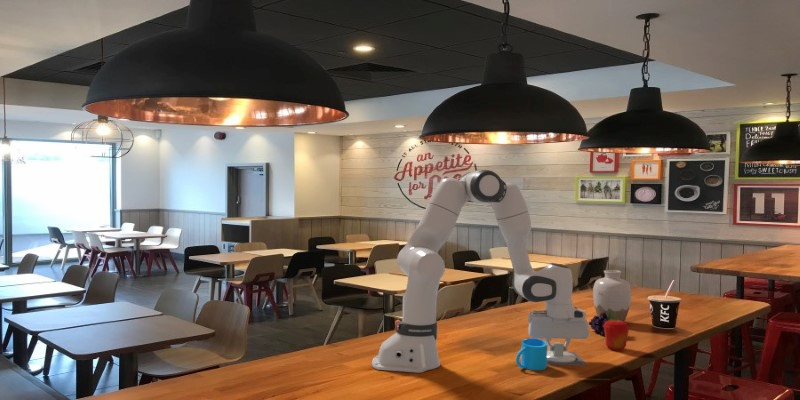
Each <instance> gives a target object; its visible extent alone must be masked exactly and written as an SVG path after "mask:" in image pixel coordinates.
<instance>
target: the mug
mask: <svg viewBox="0 0 800 400" xmlns="http://www.w3.org/2000/svg"><path fill="white" fill-rule="evenodd" d="M547 351H548V343H547V342H546V340H544V339H542V338H531V337H530V338H524V339H522V340H521V349H520V350H519V351H517V354H516V357H515V361H516V365H517V367H519V368H521V369H527V370H531V371H542V370H545V369H547V367H548V365H547ZM520 358H521V359H520Z"/></svg>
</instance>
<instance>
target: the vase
mask: <svg viewBox="0 0 800 400" xmlns="http://www.w3.org/2000/svg"><path fill="white" fill-rule="evenodd" d="M603 273H604V277H602V278H601V277H600V278H598V279H596V280H595V282H594V284H593V288H592V289H593V290H592V299H593V304H594V305H593V306H594V309H595V313H596V316H598V317H599V316H600V314H601V313H605V312H607V313H608V312H609V313H610V312H612V310H613V312H614V314H615V315H616V316H617V318H618V320H620V321H623V322H625V321H626V319H627V317H628V313H629V310H630V307H631V302H632V288H631V287H632V286H631V285H630V282H628V281H627V280H626V279H623V278H621V274H622V271H621V270H616V269H615V270H614V269H605V270H603Z"/></svg>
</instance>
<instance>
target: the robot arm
mask: <svg viewBox="0 0 800 400" xmlns="http://www.w3.org/2000/svg"><path fill="white" fill-rule="evenodd" d="M466 203H475V204H484V203H488V204H490V206H491V207H492V209H493V211H494V215H495V219H496V223H497V225H498V229H499V230H500V233H501V235H502V237H503V240H504V242H505V244H506V247H507V250H508V254H509V258H510V262H511V265H512V271H513V272H512V280H511V284H512V289H513V291H514V292H515V294H517V295H518V296H520V297H522V298H524V299H525V300H528V302H531V303H539V302H545V310H532V311H531V312H529V313H528V315H527V319H528V328H527V334H528V336H529V337H530V338H535V339H545V341H546V342H547V346H548V351H554V346H553V344H552V343H551V342H552V339H561V340H562V339H564V340H565V342H564V343H563V345H564V346H563V351H565V352H568V346H569V345H570V343H572V342H571V341H572V340H574V339H575V340H586V339H588V338H589V336H590V329H589V321H588V320H587V319H586V318H587V313H586V311H584V310H583V309H581V308H579V307H576V306H573V300H572V295H573V294H572V293H573V289H574V288H573V287H574V286H573V275H572V274H573V273H572V270H571V268H570V267H569V266H567V265H564V264H562V263H561V264H560V263H554V262H551V263H548V264H547V265H546V266H545V267H543V268H542V269H539V270H537V271H535V270H534V268H533V267H532V264H531V262H530V261H531V259H530V256H529V254H528V250H527V246H526V245H527V243H526V241H527V238H528V236H529V234H530V233H531V230H532V223H531V222H532V221H531V216H530V212H529V209H528V207H527V204H526V200H525V198H524V196H523V193H522V192H521V190H520V188H519V186H518V185H517V184H516V183H513V182H505V181H504V180H503V179H502V178H501V177H500V176H499V175H498V173H496V172H494V171H493V170H489V169H482V170H481V169H475V170H472V171H469V172H466V173H465V174H463V175H462V176H461V177H460V178H458V179H457V178H454V177H445V178H443V179H442V180H440V182H439V183H438V185H437V186H436V188H435V189H434V191H433V193H432V195H431V196H430V198H429V200H428V202H427V205H426V208H425V210H424V211H423V214H422V216H421V218H420V221H419V223H418V225H417V227H416V228H415V230H414V231H413V233H412V234H411V235H410V237H409V238H408V240H407V242H406V244H405V245H404V246H403V248H401V250H400V251H399V253H398V254H397V256H396V257H397V258H396V260H397V265H398V267H399V270H400V271H401V272H402V273H403V274H404V275H405V276H407V283H406V289H405V293H404V295H403V296H402V320H400V319H397V320H395V323H394V325H395V327H396V328H395V330H396V331H395V333H393V334H392V335H391V336H390V337H388V338H387V339H385V340H383V342H382V343H381V345H380V348H379V350H378V355H375V356H374V357H373V358H372V361H371V366H372V368H373V369H375V370H380V371H389V372H390V371H391V372H404V373H405V372H407V373H418V374H419V373H424V372H426V371H430V370H434V369H436V368H439V367H440V366H441V363H440V362H441V361H440V358H439V353H438V347H437V339H438V323H437V320H436V319H437V296H438V292H439V287H440V282H441V278H442V277H443V275H444V273H445V271H446V265H445V261H444V259H443V258H442V256H441V255H440V254H439V250H440V249H441V248H442V247H443V245H444V244H445V243H446V242H447V241H448V240H449V239H450V237H451V235H452V233H453V231H454V228H455V225H456V223H457V221H458V219H459V216H460V215H461V212H462V209H463V208H464V206H465V204H466Z"/></svg>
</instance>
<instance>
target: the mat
mask: <svg viewBox="0 0 800 400" xmlns="http://www.w3.org/2000/svg"><path fill="white" fill-rule="evenodd" d="M568 352H569V353H572V354H574V355H575V356H576V360H575V361H574V362H571V363H554V362H549V361H547V366H588V364H587V363H586V362H585V360H583V359H582V357H581V356H579V355H578V354H577V353H576V351H568Z"/></svg>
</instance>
